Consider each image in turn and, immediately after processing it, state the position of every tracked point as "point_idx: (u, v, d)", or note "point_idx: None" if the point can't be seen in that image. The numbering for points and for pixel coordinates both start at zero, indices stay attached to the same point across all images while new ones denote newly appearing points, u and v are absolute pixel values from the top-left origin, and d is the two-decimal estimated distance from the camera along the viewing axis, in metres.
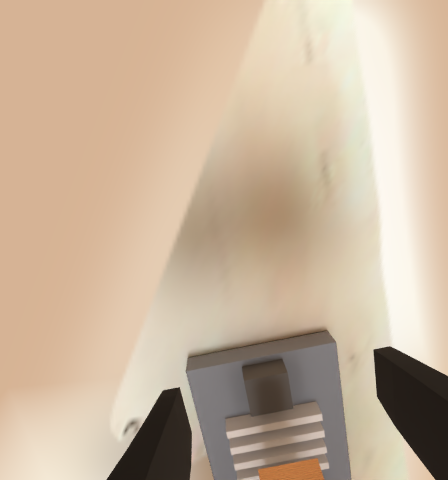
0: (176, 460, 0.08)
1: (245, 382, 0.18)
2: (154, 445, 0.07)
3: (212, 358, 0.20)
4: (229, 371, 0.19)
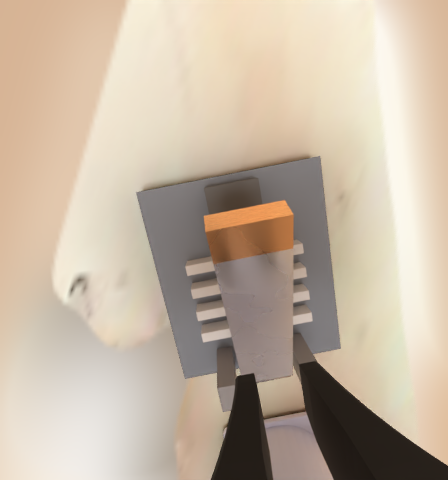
0: (266, 443, 0.08)
1: (205, 190, 0.14)
2: (256, 425, 0.07)
3: None
4: (189, 194, 0.16)
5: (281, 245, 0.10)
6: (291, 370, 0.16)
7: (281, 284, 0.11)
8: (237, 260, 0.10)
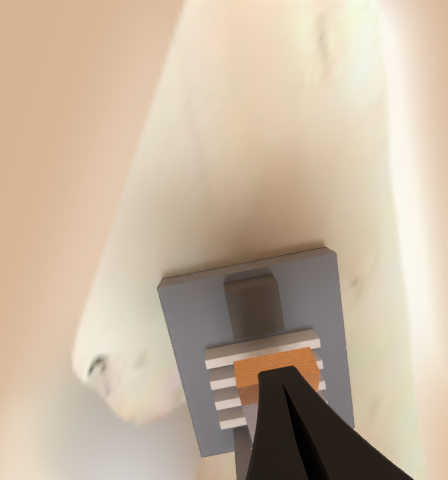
0: None
1: (226, 294, 0.15)
2: (287, 419, 0.07)
3: (189, 277, 0.17)
4: (209, 289, 0.16)
5: None
6: None
7: None
8: None
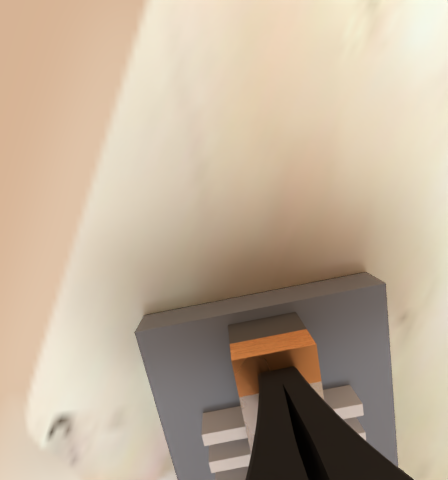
0: None
1: None
2: (287, 419, 0.07)
3: (181, 314, 0.12)
4: (207, 333, 0.12)
5: (308, 377, 0.09)
6: None
7: None
8: None
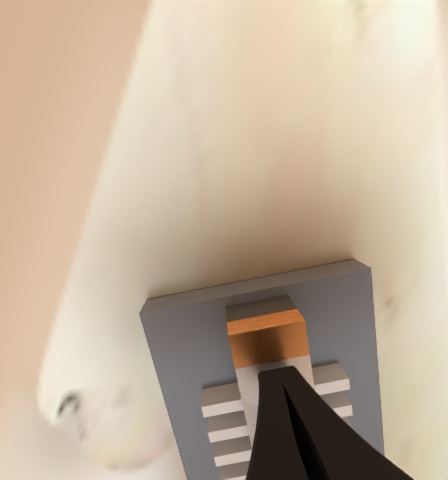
0: None
1: None
2: (287, 419, 0.07)
3: (182, 297, 0.13)
4: (206, 314, 0.13)
5: (297, 351, 0.10)
6: None
7: None
8: (257, 366, 0.11)
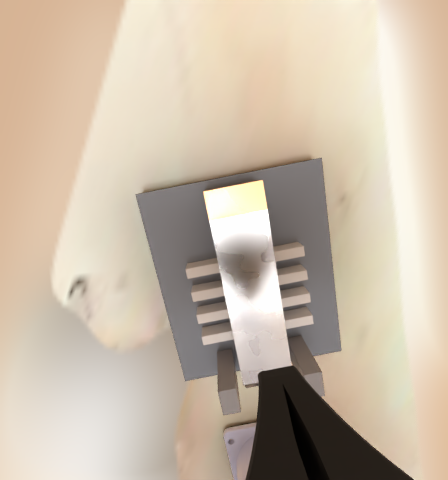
0: None
1: None
2: (287, 419, 0.07)
3: None
4: (189, 196, 0.16)
5: (258, 206, 0.13)
6: None
7: (263, 245, 0.14)
8: (227, 219, 0.14)
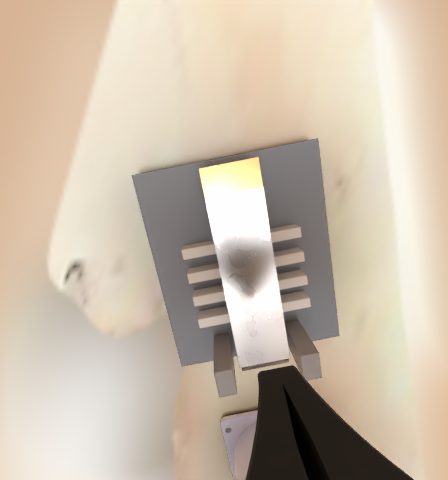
0: None
1: None
2: (287, 419, 0.07)
3: None
4: (186, 177, 0.16)
5: (253, 183, 0.13)
6: (287, 349, 0.15)
7: (259, 224, 0.14)
8: (222, 196, 0.14)
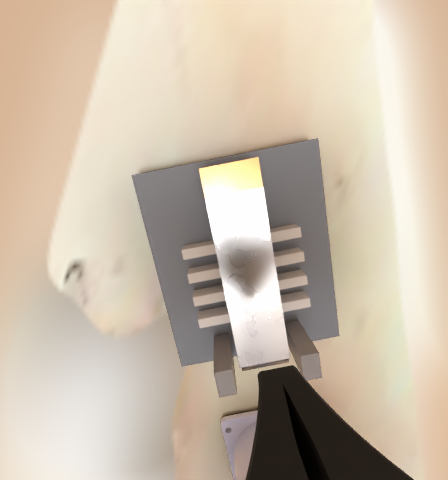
0: None
1: None
2: (287, 419, 0.07)
3: None
4: (186, 177, 0.16)
5: (253, 183, 0.13)
6: (287, 349, 0.15)
7: (259, 224, 0.14)
8: (222, 196, 0.14)
